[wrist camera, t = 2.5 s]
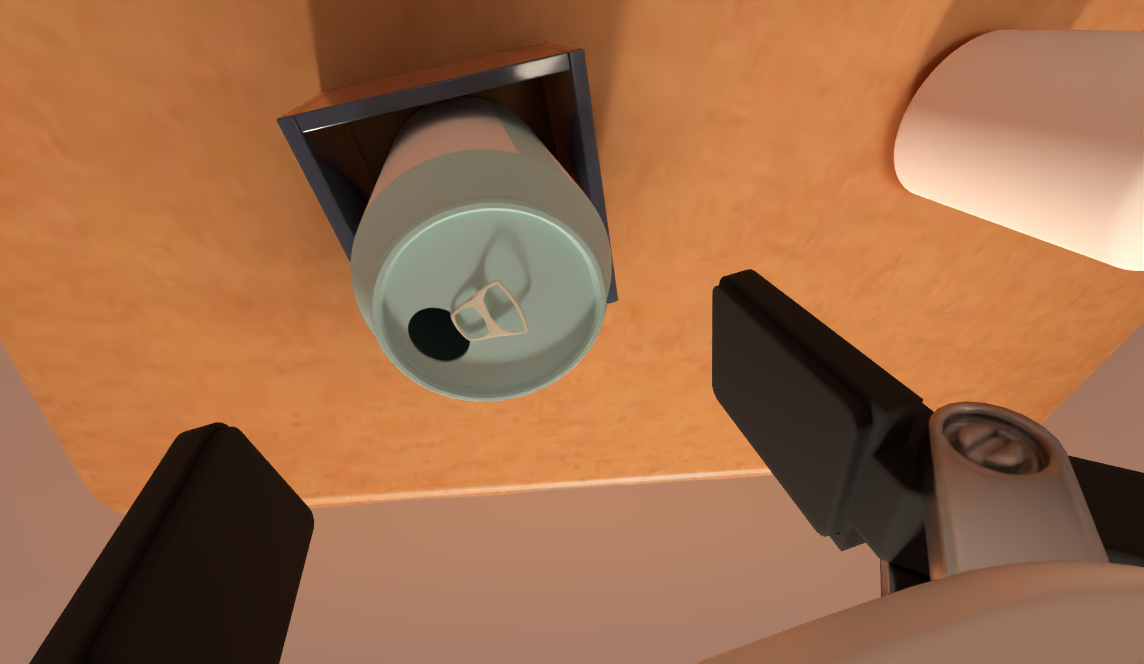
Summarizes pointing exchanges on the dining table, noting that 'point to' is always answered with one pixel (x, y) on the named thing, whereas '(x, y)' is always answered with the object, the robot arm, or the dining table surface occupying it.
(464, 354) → the can
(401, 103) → the holder
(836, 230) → the dining table surface
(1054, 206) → the beverage can
